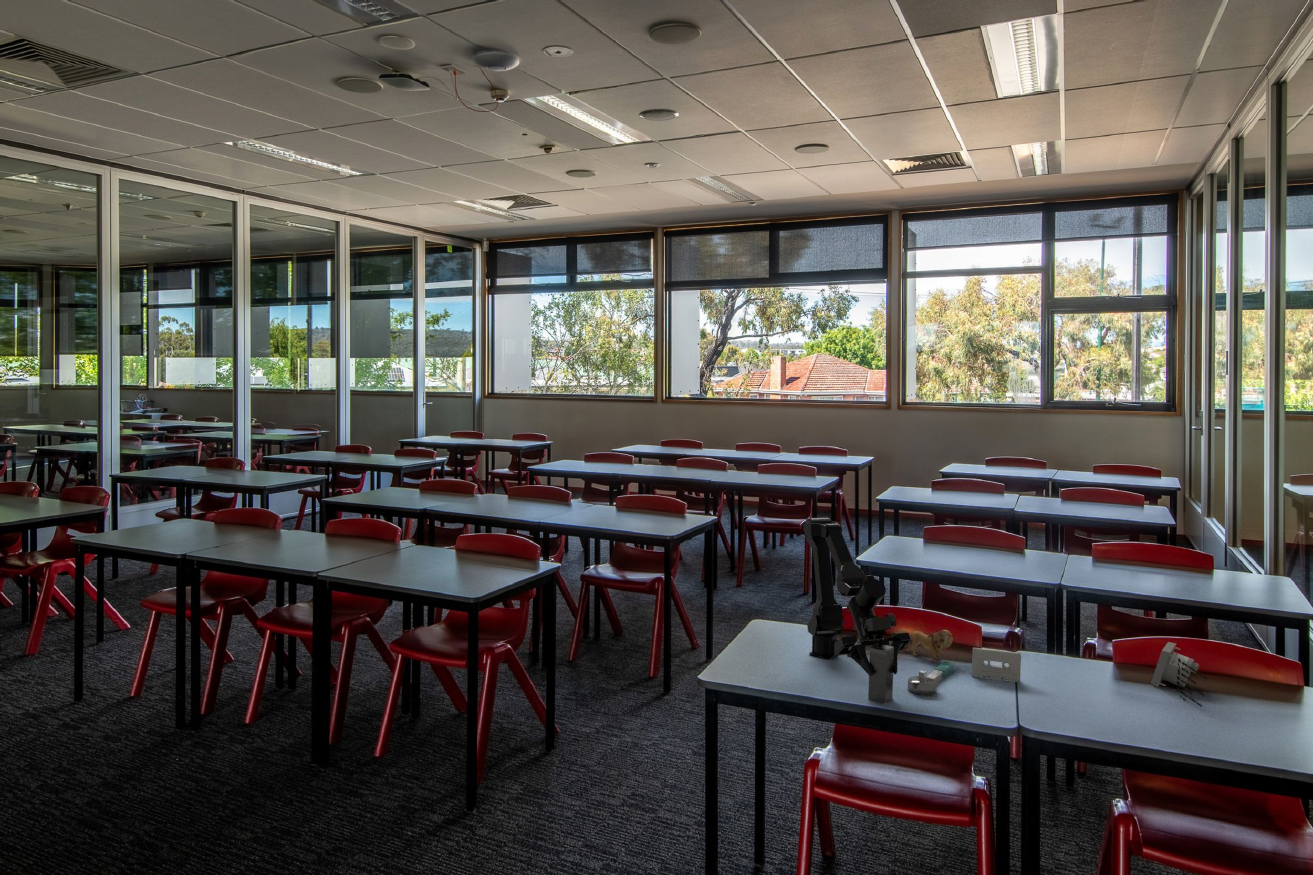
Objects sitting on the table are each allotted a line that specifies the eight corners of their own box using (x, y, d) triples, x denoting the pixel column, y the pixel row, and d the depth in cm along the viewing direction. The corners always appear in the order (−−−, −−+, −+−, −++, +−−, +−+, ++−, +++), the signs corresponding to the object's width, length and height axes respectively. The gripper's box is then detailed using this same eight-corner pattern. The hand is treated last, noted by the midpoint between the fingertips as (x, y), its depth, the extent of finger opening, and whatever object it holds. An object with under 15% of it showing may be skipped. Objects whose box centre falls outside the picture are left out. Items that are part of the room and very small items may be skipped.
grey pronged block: (1136, 675, 224) (1138, 639, 223) (1180, 677, 223) (1182, 640, 222) (1191, 715, 197) (1193, 674, 196) (1241, 717, 196) (1244, 676, 196)
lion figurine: (955, 660, 234) (956, 629, 233) (946, 665, 230) (948, 633, 229) (906, 648, 244) (907, 618, 243) (898, 653, 240) (898, 622, 239)
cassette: (1019, 680, 219) (1021, 652, 218) (1020, 683, 217) (1021, 654, 217) (971, 674, 223) (972, 646, 223) (971, 676, 221) (972, 648, 221)
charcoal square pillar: (868, 699, 205) (869, 647, 204) (875, 693, 208) (877, 643, 208) (885, 703, 202) (886, 651, 201) (892, 698, 206) (893, 646, 205)
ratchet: (903, 691, 211) (903, 672, 210) (936, 666, 229) (937, 648, 229) (930, 698, 206) (931, 678, 206) (962, 671, 225) (963, 653, 225)
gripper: (840, 603, 206) (860, 662, 196) (909, 600, 210) (931, 657, 200) (826, 625, 214) (844, 682, 204) (892, 621, 218) (913, 677, 208)
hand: (883, 674), depth 204 cm, fingers closed on charcoal square pillar, 6 cm apart
